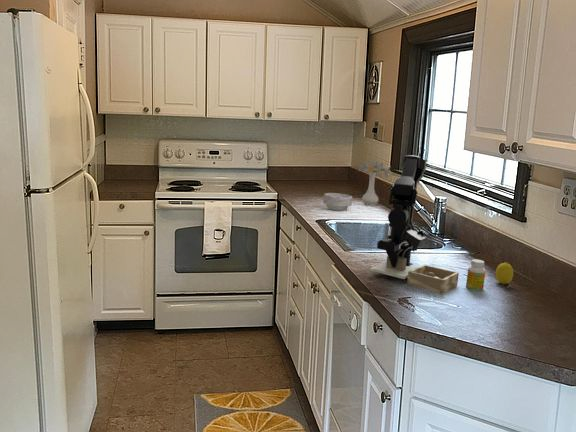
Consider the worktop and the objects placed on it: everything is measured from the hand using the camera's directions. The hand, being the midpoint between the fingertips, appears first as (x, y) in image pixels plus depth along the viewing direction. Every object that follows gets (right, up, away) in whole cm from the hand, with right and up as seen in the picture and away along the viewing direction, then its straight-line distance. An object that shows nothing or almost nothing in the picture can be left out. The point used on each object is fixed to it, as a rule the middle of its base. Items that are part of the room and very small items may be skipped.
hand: (395, 266), depth 198 cm
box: (+11, -6, -6) cm, 14 cm away
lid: (0, -1, 0) cm, 2 cm away
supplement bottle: (+24, -7, -6) cm, 26 cm away
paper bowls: (-10, +20, +119) cm, 121 cm away
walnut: (+11, -5, -3) cm, 12 cm away
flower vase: (+11, +23, +139) cm, 142 cm away
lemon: (+36, -6, +1) cm, 37 cm away
